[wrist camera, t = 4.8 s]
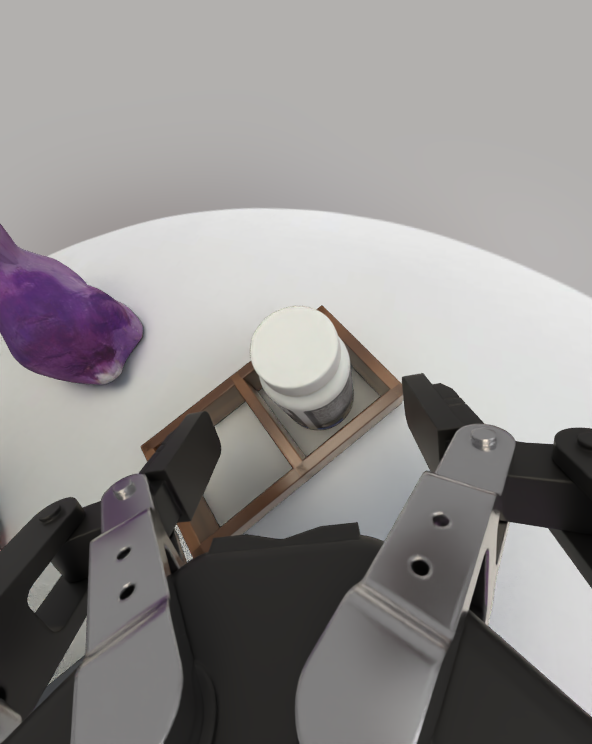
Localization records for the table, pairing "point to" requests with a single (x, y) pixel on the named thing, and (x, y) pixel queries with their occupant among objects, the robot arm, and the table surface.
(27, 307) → the figurine
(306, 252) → the table surface
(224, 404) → the rack
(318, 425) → the pill bottle
